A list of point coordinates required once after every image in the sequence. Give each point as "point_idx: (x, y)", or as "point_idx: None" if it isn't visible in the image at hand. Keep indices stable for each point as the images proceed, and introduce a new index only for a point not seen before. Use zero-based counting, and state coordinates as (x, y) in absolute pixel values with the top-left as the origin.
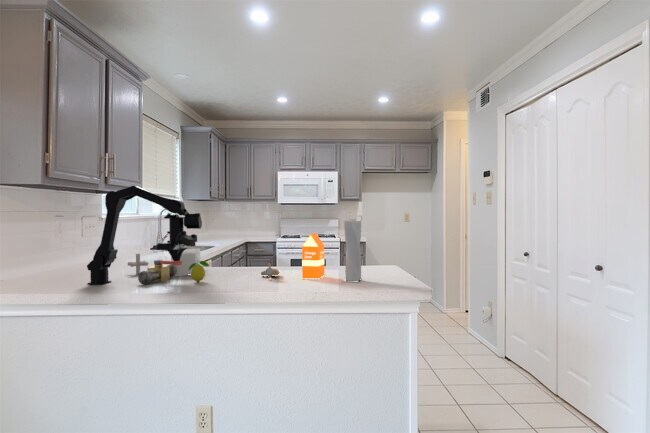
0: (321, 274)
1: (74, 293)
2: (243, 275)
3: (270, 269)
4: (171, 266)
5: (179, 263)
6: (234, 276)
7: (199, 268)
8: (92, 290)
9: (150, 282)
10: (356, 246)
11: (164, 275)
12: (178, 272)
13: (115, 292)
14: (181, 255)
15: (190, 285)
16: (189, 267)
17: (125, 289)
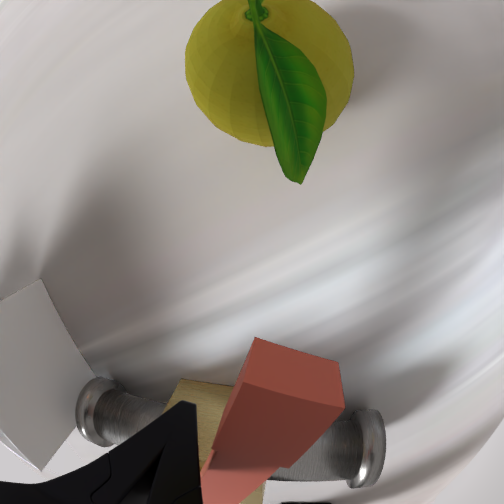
0: None
1: (454, 470)
2: (47, 13)
3: None
4: (91, 424)
5: (306, 369)
6: (61, 26)
7: (316, 5)
8: (428, 472)
9: (364, 410)
10: None
11: None
12: (74, 371)
13: (496, 402)
14: (3, 416)
15: (415, 109)
16: (287, 168)
17: (456, 415)
